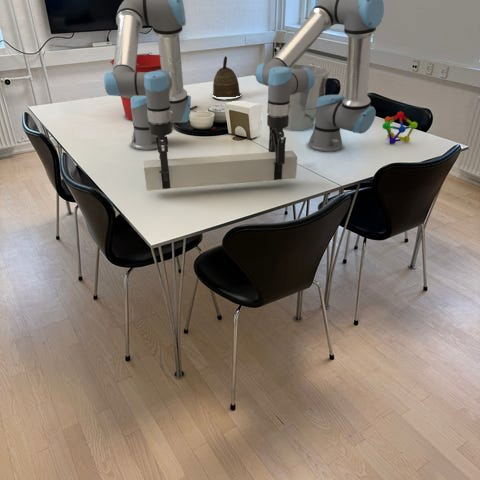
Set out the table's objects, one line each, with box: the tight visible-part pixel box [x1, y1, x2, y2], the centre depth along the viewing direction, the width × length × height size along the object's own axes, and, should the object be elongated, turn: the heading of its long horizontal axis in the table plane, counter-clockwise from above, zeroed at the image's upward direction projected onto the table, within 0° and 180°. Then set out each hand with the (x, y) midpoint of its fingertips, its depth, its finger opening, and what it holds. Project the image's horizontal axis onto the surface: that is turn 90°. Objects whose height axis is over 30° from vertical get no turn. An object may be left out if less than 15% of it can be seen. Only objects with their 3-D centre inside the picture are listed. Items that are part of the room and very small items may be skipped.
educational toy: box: [382, 110, 418, 145], centre depth 207 cm, size 16×13×15 cm
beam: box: [143, 150, 298, 191], centre depth 161 cm, size 55×6×9 cm, turn 101°
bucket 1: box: [107, 51, 161, 122], centre depth 239 cm, size 35×35×30 cm
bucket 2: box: [283, 63, 330, 131], centre depth 226 cm, size 30×30×28 cm
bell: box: [212, 56, 242, 97], centre depth 278 cm, size 19×26×20 cm
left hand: (166, 184), depth 160 cm, fingers closed on beam, 6 cm apart
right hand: (275, 175), depth 167 cm, fingers closed on beam, 6 cm apart
